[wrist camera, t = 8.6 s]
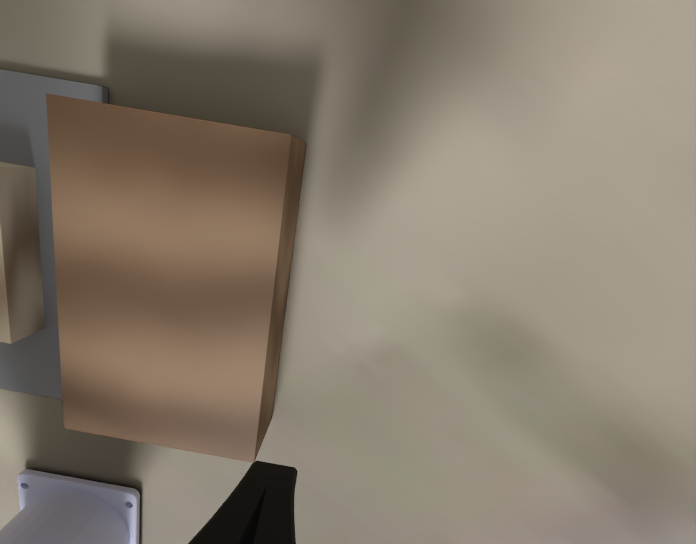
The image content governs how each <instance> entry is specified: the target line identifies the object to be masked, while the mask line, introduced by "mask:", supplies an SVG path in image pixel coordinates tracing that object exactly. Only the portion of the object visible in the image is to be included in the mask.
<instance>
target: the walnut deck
mask: <svg viewBox="0 0 696 544" xmlns="http://www.w3.org/2000/svg"><path fill="white" fill-rule="evenodd" d="M46 105H47V123H48V142H49V160H50V179H51V197H52V216H53V234H54V253H55V271H56V290H57V309H58V327H59V346H60V364H61V383H62V401H63V420H64V429H70V430H75V431H81V432H86V433H92V434H97V435H103V436H109V437H114V438H120V439H125V440H131V441H136V442H142V443H147V444H153V445H158V446H164V447H170V448H175V449H181V450H186V451H192V452H197V453H203V454H208V455H214V456H219V457H225V458H231V459H236V460H242V461H247V462H253V463H254V461H255V459H256V456H257V454H258V451H259V449H260V446H261V444H262V441H263V439H264V437H265V434H266V432H267V429H268V427H269V424H270V422H271V419H272V413H273V406H274V398H275V390H276V382H277V374H278V366H279V358H280V350H281V342H282V334H283V326H284V318H285V310H286V302H287V294H288V286H289V278H290V270H291V262H292V254H293V246H294V238H295V230H296V222H297V214H298V206H299V198H300V190H301V182H302V174H303V166H304V158H305V150H306V143H305V142H303V141H301V140H300V139H298V138H296V137H294V136H293V135H290V134H285V133H279V132H273V131H267V130H261V129H255V128H249V127H243V126H237V125H231V124H225V123H219V122H213V121H207V120H201V119H195V118H189V117H184V116H178V115H172V114H166V113H160V112H154V111H148V110H142V109H136V108H130V107H124V106H118V105H112V104H106V103H100V102H94V101H88V100H83V99H77V98H71V97H65V96H59V95H53V94H47V93H46Z"/></svg>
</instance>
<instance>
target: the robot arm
mask: <svg viewBox="0 0 696 544" xmlns="http://www.w3.org/2000/svg"><path fill="white" fill-rule="evenodd" d="M296 478H297V470H296V469H295V468H294V467H289V466H283V465H277V464H272V463H266V462H261V461H256V462H254V463H253V464H252V465H251V467H250V468H249V470H248V471H247V473H246V474H245V476H244V477H243V479H242V480H241V481H240V483H239V484H238V485H237V487H236V488H235V489H234V491H233V492H232V493H231V495H230V496H229V497H228V498H227V500H226V501H225V502H224V503H223V504H222V506H221V507H220V508H219V509H218V511H217V512H216V513H215V514H214V515H213V517H212V518H211V519H210V520H209V521H208V522H207V524H206V525H205V526H204V527H203V528H202V529H201V530H200V531H199V532H198V533H197V535H196V536H195V537H194V538H193V539H192V540H191V541H190V542H189V543H188V544H296V542H295V525H294V491H295V484H296ZM17 480H18V491H19V501H20V512H19V513H18V514H17V515H16V516H15V517H14V518H13V519H12V520H11V521H10V522H9V523H8V524H7V525H6V526H5V527H3V528H2V529H1V530H0V544H139V514H140V495H139V492H138V491H137V490H136V489H134V488H129V487H123V486H118V485H112V484H107V483H101V482H96V481H90V480H85V479H79V478H74V477H68V476H63V475H57V474H52V473H46V472H41V471H35V470H30V469H25V470H23V471H22V472H21V473H20V474H19V475H18V477H17Z"/></svg>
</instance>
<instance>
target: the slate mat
mask: <svg viewBox="0 0 696 544" xmlns="http://www.w3.org/2000/svg"><path fill="white" fill-rule="evenodd" d="M46 93H47V94H53V95H59V96H65V97H71V98H77V99H83V100H88V101H94V102H100V103H106V104H108V88H106V87H103V86H98V85H92V84H86V83H80V82H74V81H68V80H62V79H56V78H50V77H44V76H38V75H32V74H26V73H21V72H15V71H9V70H3V69H0V162H5V163H10V164H16V165H22V166H27V167H33V168H35V170H36V187H37V204H38V221H39V238H40V254H41V271H42V288H43V305H44V322H45V328H44V329H42V330H40V331H38V332H36V333H33V334H31V335H29V336H27V337H25V338H22V339H20V340H18V341H16V342H14V343H12V344H9V343H4V342H0V389H6V390H11V391H17V392H23V393H28V394H34V395H39V396H45V397H50V398H56V399H62V383H61V364H60V346H59V327H58V309H57V290H56V271H55V253H54V234H53V216H52V197H51V179H50V160H49V142H48V123H47V105H46Z"/></svg>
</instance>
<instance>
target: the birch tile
mask: <svg viewBox="0 0 696 544" xmlns="http://www.w3.org/2000/svg"><path fill="white" fill-rule="evenodd" d="M44 328H45V322H44V305H43V288H42V271H41V254H40V238H39V221H38V204H37V187H36V170H35V168H33V167H27V166H22V165H16V164H10V163H5V162H0V342H4V343H9V344H12V343H14V342H16V341H18V340H20V339H22V338H25V337H27V336H29V335H31V334H33V333H36V332H38V331H40V330H42V329H44Z"/></svg>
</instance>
